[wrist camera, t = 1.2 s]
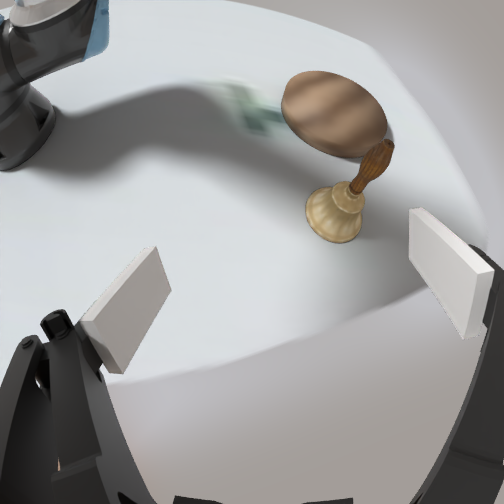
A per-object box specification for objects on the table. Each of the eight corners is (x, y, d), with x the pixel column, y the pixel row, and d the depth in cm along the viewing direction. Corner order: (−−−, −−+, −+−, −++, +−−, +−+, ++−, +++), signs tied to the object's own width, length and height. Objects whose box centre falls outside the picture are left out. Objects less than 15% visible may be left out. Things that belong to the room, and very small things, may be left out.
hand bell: (320, 250, 38) (381, 188, 23) (295, 194, 41) (337, 114, 26) (370, 234, 40) (439, 175, 25) (345, 183, 42) (398, 111, 28)
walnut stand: (258, 104, 45) (261, 91, 43) (323, 72, 51) (327, 61, 48) (343, 177, 43) (351, 166, 40) (395, 131, 48) (402, 121, 46)
